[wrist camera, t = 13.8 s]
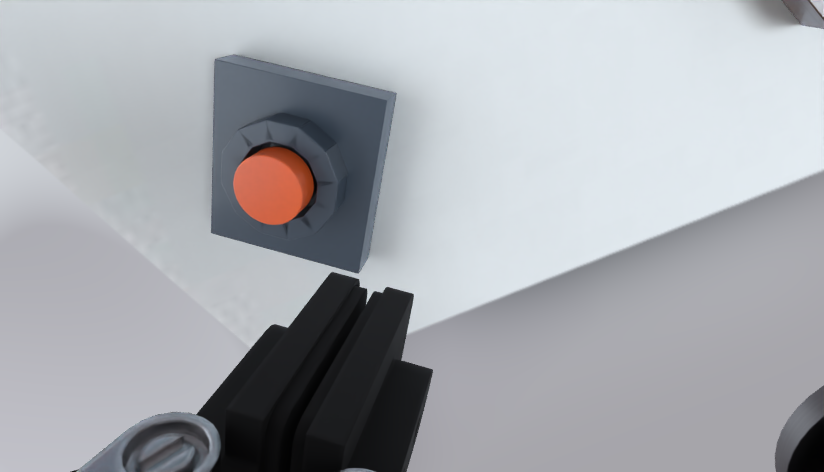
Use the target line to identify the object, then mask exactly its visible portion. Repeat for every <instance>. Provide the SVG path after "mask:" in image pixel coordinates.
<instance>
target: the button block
mask: <svg viewBox="0 0 824 472" xmlns="http://www.w3.org/2000/svg"><path fill="white" fill-rule="evenodd" d="M395 99H396V93H394V92H389V91H385V90H381V89H377V88H373V87H368V86H364V85H360V84H356V83H352V82H347V81H343V80H339V79H335V78H331V77H326V76H322V75H318V74H314V73H310V72H305V71H301V70H297V69H293V68H289V67H284V66H280V65H276V64H272V63H268V62H263V61H259V60H255V59H251V58H247V57H242V56H238V55H231V56H226V57H222V58H218V59H215V68H214V118H213V167H212V216H211V233H213V234H216V235H220V236H224V237H227V238H231V239H235V240H238V241H242V242H245V243H249V244H253V245H256V246H260V247H264V248H267V249H271V250H274V251H278V252H282V253H285V254H289V255H293V256H296V257H300V258H303V259H307V260H311V261H314V262H318V263H322V264H325V265H329V266H332V267H336V268H340V269H343V270H347V271H351V272H354V273H359V272H360V270H361V269H362V267H363V265H364V264H365V262H366V261H367V259H368V256H369V250H370V244H371V239H372V233H373V227H374V221H375V215H376V210H377V204H378V198H379V192H380V186H381V181H382V175H383V169H384V163H385V157H386V152H387V146H388V140H389V134H390V128H391V122H392V117H393V111H394V105H395ZM268 147H282V148H285V149H288V150H290V151H292V152H294V153H296V154H297V155H298V156H300V157H301V158H302V159H303V160H304V162H305V163H306V164H307V166H308V167H309V169H310V171H311V174H312V177H313V183H314V190H313V195H312V198H311V200H310V202H309V203H308V205H307V206H306V207H305V208H304V209H303V210H302V211H301V212H300V213H299V214H297V215H296V216H295V217H294V218H293V219H292V220H291V221H289V222H287V223H284V224H279V225H269V224H265V223H262V222H259V221H257V220H255V219H254V218H252V217H251V216H250V215H248V214H247V213H246V212H245V211H244V209H243V208H242V207H241V206H240V204H239V202H238V200H237V198H236V196H235V192H234V187H233V181H234V175H235V172H236V170H237V168H238V166H239V165H240V164H241V163H242V162H243V161H244V160H245V159H247V158H249V157H250V156H252V155H254V154H255V153H257V152H258V151H260V150H262V149H264V148H268Z"/></svg>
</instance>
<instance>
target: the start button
mask: <svg viewBox="0 0 824 472" xmlns="http://www.w3.org/2000/svg"><path fill="white" fill-rule="evenodd" d="M233 187H234V192H235V196H236V198H237V200H238V202H239V204H240V206H241V207H242V208H243V209H244V211H245V212H246V213H247V214H248V215H250V216H251V217H252V218H254V219H255V220H257V221H259V222H262V223H265V224H269V225H279V224H284V223H287V222H289V221H291V220H292V219H293V218H294V217H295V216H296V215H297V214H299V213H300V212H301V211H302V210H303V209H304V208H305V207H306V206H307V205H308V203H309V202H310V200H311V198H312V195H313V190H314V183H313V177H312V174H311V171H310V169H309V167H308V166H307V164H306V163H305V162H304V160H303V159H302V158H301V157H300V156H298V155H297V154H296V153H294V152H292V151H290V150H288V149H285V148H282V147H268V148H264V149H262V150H260V151H258V152H257V153H255V154H254V155H252V156H250V157H249V158H247V159H245V160H244V161H243V162H242V163H241V164H240V165H239V166H238V168H237V170H236V172H235V175H234V181H233Z"/></svg>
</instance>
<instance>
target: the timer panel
mask: <svg viewBox="0 0 824 472" xmlns="http://www.w3.org/2000/svg"><path fill="white" fill-rule="evenodd" d="M782 1H783V3H784V4H785V5H786V6H787V8H788V9H789V10H790V11H791V13H792V14H793V15H794V16H795V18H796V19H797V20H798V21H799V22H800V24H801V25H803V26H809V27H815V28H821V29H824V0H782Z"/></svg>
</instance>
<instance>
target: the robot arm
mask: <svg viewBox="0 0 824 472" xmlns="http://www.w3.org/2000/svg"><path fill="white" fill-rule="evenodd" d="M359 286H360V283H359V279H356V278H352V277H349V276H345V275H341V274H337V273H334V272H332V273H330V274H329V276H328V277H327V278H326V279H325V281H324V282H323V283H322V285H321V286H320V287H319V289H318V290H317V291H316V292H315V294H314V295H313V296H312V298H311V299H310V300H309V302H308V303H307V304H306V305H305V307H304V308H303V309H302V311H301V312H300V313H299V315H298V316H297V317H296V318H295V320H294V321H293V322H292V324H291V325H290V326H289V327H288V328H286V327H283V326H279V325H276V324H275V325H271V326H270V327H269V328H268V329H267V330H266V331H265V332H264V334H263V335H262V336H261V337H260V338H259V340H258V341H257V342H256V343H255V344H254V346H253V347H252V348H251V349H250V351H249V352H248V353H247V354H246V355H245V357H244V358H243V359H242V360H241V361H240V363H239V364H238V365H237V366H236V368H235V369H234V370H233V371H232V372H231V373H230V375H229V376H228V377H227V378H226V379H225V381H224V382H223V383H222V384H221V385H220V387H219V388H218V389H217V390H216V392H215V393H214V394H213V395H212V396H211V397H210V399H209V400H208V401H207V402H206V404H205V405H204V406H203V407H202V408H201V410H200V411H199V412H198V413H197V414H196V415H195V414H191V413H184V412H183V413H181V412H171V413H164V414H158V415H155V416H152V417H150V418H147V419H144V420H142V421H140V422H139V423H137V424H135V425H134V426H132V427H131V428H129V429H128V430H127V431H125V432H124V433H123V434H121V435H120V436H119V437H118V438H117V439H115V440H114V441H113V442H112V443H111V444H109V445H108V446H107V447H106V448H104V449H103V450H102V451H101V452H99V454H97V455H96V456H95V457H93V458H92V459H91V460H90V461H89V462H87V463H86V464H85V465H84V466H83V467H81V468H80V469H78V470H75V471H72V472H406V471H407V468H408V464H409V461H410V458H411V454H412V451H413V447H414V444H415V440H416V437H417V433H418V430H419V426H420V422H421V418H422V414H423V411H424V407H425V402H426V399H427V394H428V390H429V386H430V382H431V377H432V373H433V370H432V369H429V368H425V367H422V366H418V365H415V364H412V363H408V362H405V361H401V358H402V353H403V349H404V343H405V339H406V334H407V329H408V324H409V319H410V314H411V309H412V304H413V297H414V295H413V294H412V293H408V292H404V291H401V290H397V289H393V288H389V287H386V288H385V290H384V292H383V293H380V292H376V291H374V292H373V294H372V296H371V297H370V299H369V301H368V302H367V304H366V299H367V289H365V288H361V287H359Z"/></svg>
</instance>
